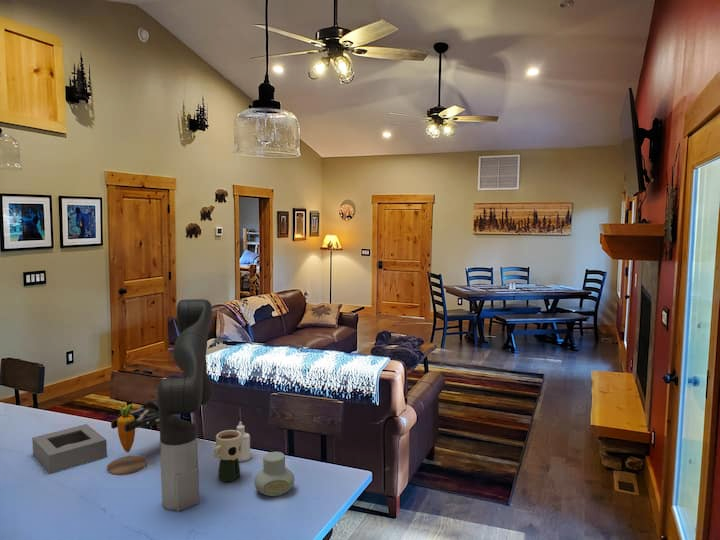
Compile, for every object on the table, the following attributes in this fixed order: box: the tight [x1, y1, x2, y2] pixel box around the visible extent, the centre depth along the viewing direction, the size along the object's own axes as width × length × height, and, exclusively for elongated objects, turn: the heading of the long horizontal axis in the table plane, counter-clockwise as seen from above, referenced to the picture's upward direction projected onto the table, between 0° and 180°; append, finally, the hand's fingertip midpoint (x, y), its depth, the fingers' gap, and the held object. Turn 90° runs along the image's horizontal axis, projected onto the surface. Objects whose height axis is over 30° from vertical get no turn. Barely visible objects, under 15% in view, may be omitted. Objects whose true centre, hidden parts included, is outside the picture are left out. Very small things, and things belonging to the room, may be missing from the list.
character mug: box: [214, 429, 243, 482], centre depth 151 cm, size 11×7×13 cm, turn 150°
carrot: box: [116, 404, 136, 454], centre depth 157 cm, size 5×5×15 cm
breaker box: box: [31, 423, 108, 475], centre depth 165 cm, size 18×16×6 cm
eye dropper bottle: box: [236, 421, 251, 463], centre depth 163 cm, size 4×6×12 cm
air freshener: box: [253, 451, 295, 497], centre depth 144 cm, size 11×8×10 cm
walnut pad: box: [107, 455, 148, 476], centre depth 158 cm, size 11×11×1 cm
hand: (118, 426), depth 155 cm, fingers closed on carrot, 5 cm apart
